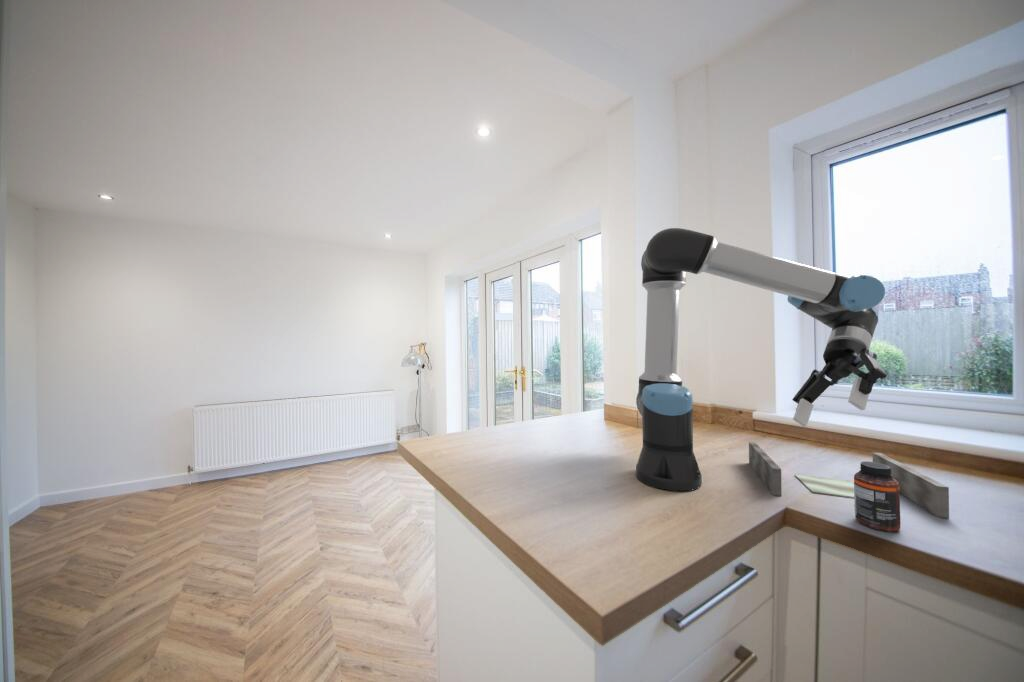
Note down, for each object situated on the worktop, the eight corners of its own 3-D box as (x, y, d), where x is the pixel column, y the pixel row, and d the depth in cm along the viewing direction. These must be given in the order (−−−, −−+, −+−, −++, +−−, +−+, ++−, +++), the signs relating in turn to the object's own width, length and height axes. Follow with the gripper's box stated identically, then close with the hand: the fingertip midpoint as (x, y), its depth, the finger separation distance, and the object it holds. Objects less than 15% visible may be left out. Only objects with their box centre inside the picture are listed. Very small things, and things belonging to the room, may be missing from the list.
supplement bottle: (879, 517, 68) (878, 459, 68) (910, 534, 62) (910, 470, 62) (845, 516, 69) (845, 458, 69) (874, 532, 63) (873, 470, 63)
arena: (749, 463, 98) (748, 441, 98) (881, 477, 88) (881, 453, 88) (772, 494, 78) (772, 468, 78) (949, 518, 67) (948, 487, 67)
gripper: (921, 333, 72) (907, 409, 64) (816, 377, 94) (795, 438, 86) (885, 312, 74) (866, 384, 65) (790, 360, 96) (766, 418, 87)
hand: (825, 414), depth 75 cm, fingers open, 13 cm apart
